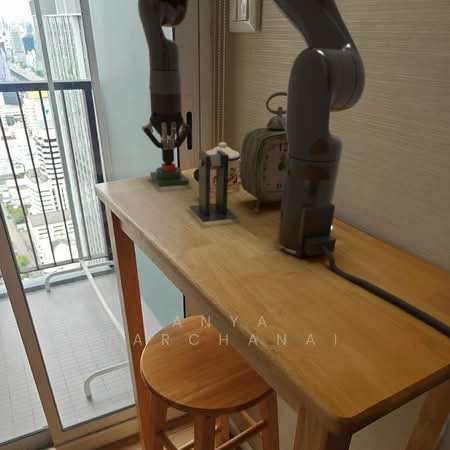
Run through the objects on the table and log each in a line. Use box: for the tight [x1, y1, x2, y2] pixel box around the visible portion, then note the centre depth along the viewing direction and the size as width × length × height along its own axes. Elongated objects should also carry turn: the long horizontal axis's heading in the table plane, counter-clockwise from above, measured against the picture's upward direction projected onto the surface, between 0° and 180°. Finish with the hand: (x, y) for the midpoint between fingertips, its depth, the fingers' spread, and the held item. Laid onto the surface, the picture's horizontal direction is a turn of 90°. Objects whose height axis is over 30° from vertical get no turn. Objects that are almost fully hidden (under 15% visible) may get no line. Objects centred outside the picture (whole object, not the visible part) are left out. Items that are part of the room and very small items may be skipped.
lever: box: [193, 154, 221, 183], centre depth 90 cm, size 13×3×3 cm
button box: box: [149, 166, 190, 188], centre depth 110 cm, size 10×8×4 cm
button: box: [161, 162, 177, 172], centre depth 109 cm, size 4×4×2 cm
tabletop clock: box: [239, 91, 288, 213], centre depth 91 cm, size 14×9×25 cm, turn 114°
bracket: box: [188, 150, 238, 223], centre depth 88 cm, size 10×8×14 cm
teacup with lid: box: [205, 141, 241, 190], centre depth 107 cm, size 12×9×12 cm
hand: (168, 163), depth 108 cm, fingers closed
